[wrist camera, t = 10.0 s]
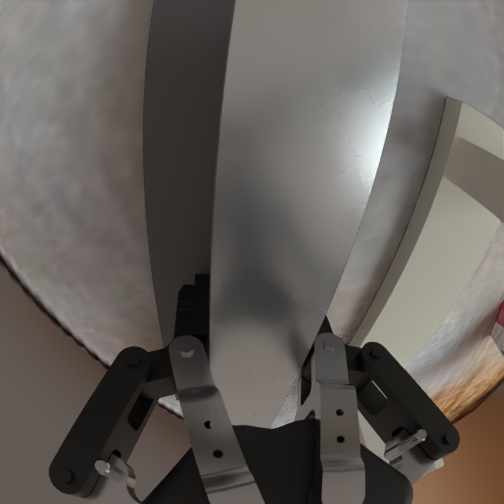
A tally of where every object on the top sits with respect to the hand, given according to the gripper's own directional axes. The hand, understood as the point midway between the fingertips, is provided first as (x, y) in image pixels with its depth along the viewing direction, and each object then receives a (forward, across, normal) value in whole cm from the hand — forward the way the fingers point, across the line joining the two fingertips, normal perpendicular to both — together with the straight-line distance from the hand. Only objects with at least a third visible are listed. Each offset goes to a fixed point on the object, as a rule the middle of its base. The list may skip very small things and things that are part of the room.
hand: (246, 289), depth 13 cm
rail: (-1, 0, 0) cm, 1 cm away
